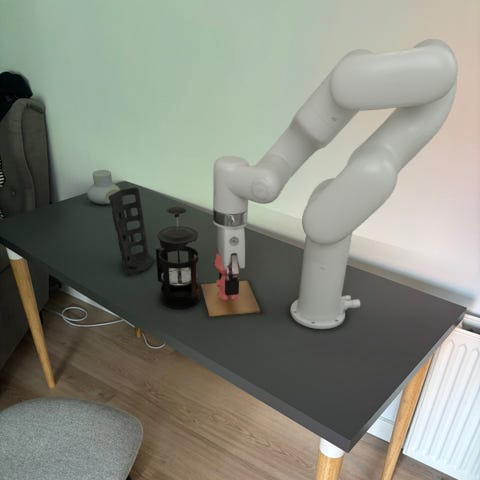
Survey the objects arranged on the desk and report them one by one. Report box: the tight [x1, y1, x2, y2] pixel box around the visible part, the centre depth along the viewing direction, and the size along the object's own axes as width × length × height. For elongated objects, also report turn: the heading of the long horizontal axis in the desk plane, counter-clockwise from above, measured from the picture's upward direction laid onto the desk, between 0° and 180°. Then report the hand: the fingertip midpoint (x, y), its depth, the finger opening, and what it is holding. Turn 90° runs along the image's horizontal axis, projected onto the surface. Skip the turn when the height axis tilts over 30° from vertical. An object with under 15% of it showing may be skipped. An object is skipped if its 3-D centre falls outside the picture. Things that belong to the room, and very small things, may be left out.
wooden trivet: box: [200, 280, 261, 317], centre depth 123 cm, size 12×14×1 cm
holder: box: [109, 187, 153, 276], centre depth 130 cm, size 11×8×20 cm
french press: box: [155, 205, 201, 310], centre depth 116 cm, size 12×9×23 cm
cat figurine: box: [213, 252, 241, 300], centre depth 120 cm, size 7×7×12 cm
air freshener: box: [86, 169, 121, 206], centre depth 169 cm, size 11×8×10 cm
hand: (228, 285), depth 121 cm, fingers closed on cat figurine, 6 cm apart
